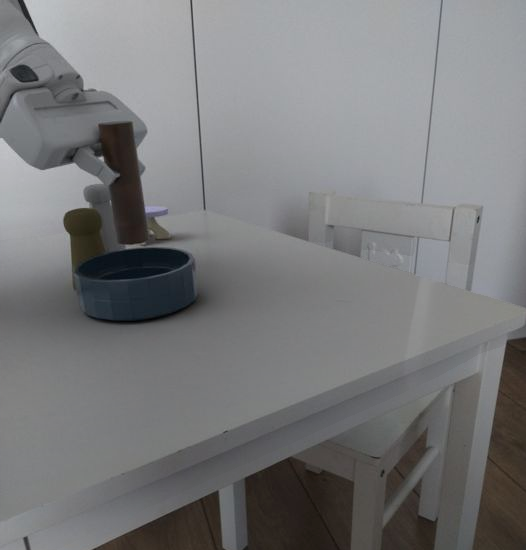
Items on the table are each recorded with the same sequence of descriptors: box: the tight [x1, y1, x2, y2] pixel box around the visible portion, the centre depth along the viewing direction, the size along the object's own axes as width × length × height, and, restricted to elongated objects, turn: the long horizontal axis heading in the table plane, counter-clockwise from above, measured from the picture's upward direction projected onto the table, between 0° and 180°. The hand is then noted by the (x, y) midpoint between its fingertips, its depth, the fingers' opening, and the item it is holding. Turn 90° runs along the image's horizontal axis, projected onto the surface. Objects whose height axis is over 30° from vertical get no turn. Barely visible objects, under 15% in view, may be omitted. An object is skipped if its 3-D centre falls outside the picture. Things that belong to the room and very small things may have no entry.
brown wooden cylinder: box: [98, 121, 150, 246], centre depth 69 cm, size 4×4×14 cm
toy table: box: [139, 205, 171, 247], centre depth 106 cm, size 10×9×6 cm
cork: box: [62, 207, 106, 291], centre depth 81 cm, size 6×6×11 cm
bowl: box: [73, 246, 199, 322], centre depth 75 cm, size 15×15×6 cm
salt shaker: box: [82, 183, 127, 252], centre depth 88 cm, size 6×6×13 cm
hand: (127, 177), depth 69 cm, fingers closed on brown wooden cylinder, 4 cm apart
